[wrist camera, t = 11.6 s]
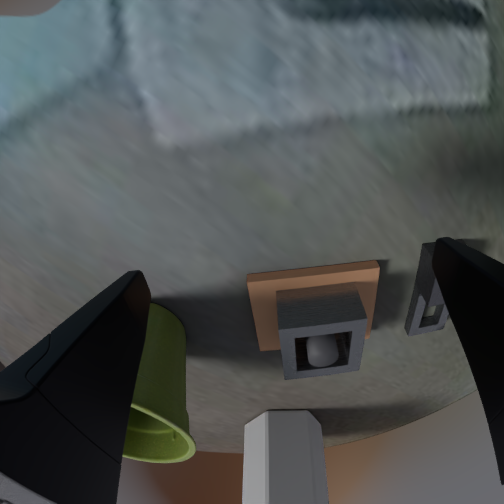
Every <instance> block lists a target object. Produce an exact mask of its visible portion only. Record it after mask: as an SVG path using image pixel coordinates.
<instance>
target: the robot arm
mask: <svg viewBox="0 0 504 504" xmlns="http://www.w3.org/2000/svg"><path fill="white" fill-rule="evenodd" d="M432 268H433V271H434V274H435V277H436V279H437V282H438V285H439V288H440V291H441V294H442V297H443V300H444V302H445V305H446V308H447V310H448V313H449V315H450V317H451V320H452V322H453V324H454V327H455V329H456V332H457V334H458V336H459V339H460V341H461V344H462V347H463V349H464V352H465V354H466V357H467V360H468V362H469V365H470V368H471V371H472V374H473V376H474V379H475V382H476V385H477V388H478V391H479V395H480V398H481V401H482V404H483V407H484V411H485V414H486V418H487V422H488V424H489V430H490V434H491V438H492V442H493V446H494V450H495V455H496V459H497V464H498V470H499V475H500V480H501V484H502V485H504V264H503V263H501V262H499V261H497V260H495V259H493V258H491V257H489V256H487V255H485V254H483V253H481V252H479V251H477V250H475V249H473V248H471V247H469V246H467V245H465V244H462V243H460V242H458V241H456V240H454V239H452V238H450V237H443V238H438V239H437V240H436V242H435V247H434V252H433V257H432ZM150 301H151V293H150V289H149V287H148V285H147V282H146V280H145V277H144V275H143V273H142V271H140V270H135V271H128V272H127V273H125V274H124V275H123V276H121V277H120V278H119V279H117V280H116V281H115V282H113V283H112V284H111V285H110V286H108V287H107V288H106V289H104V290H103V291H102V292H100V293H99V294H98V295H97V296H95V297H94V298H93V299H91V300H90V301H89V302H88V303H86V304H85V305H84V306H83V307H81V308H80V309H79V310H78V311H76V312H75V313H74V314H73V315H71V316H70V317H69V318H68V319H66V320H65V321H64V322H63V323H61V324H60V325H59V326H58V327H57V328H55V329H54V330H53V331H52V332H51V334H48V335H47V336H46V337H44V338H43V339H42V340H41V341H39V342H38V343H37V344H36V345H35V346H33V347H32V348H31V349H30V350H28V351H27V352H26V353H24V354H23V355H22V356H21V357H19V358H18V359H17V360H15V361H14V362H13V363H11V364H10V365H9V366H7V367H6V368H5V369H3V370H2V371H1V372H0V504H116V502H117V493H118V486H119V478H120V470H121V462H122V456H123V450H124V443H125V437H126V432H127V426H128V420H129V415H130V410H131V404H132V399H133V394H134V389H135V384H136V380H137V375H138V370H139V366H140V361H141V357H142V353H143V348H144V344H145V339H146V332H147V324H148V316H149V309H150Z"/></svg>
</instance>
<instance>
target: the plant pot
mask: <svg viewBox="0 0 504 504" xmlns="http://www.w3.org/2000/svg"><path fill="white" fill-rule="evenodd" d="M195 452H196V443H195V441H194V439H193V438H192V436H191V435H190V434H189V417H188V413H187V410H186V334H185V329H184V327H183V325H182V323H181V322H180V321H179V319H178V318H177V317H176V316H175V315H174V314H173V313H171V312H170V311H168V310H167V309H165V308H163V307H162V306H159V305H157V304H154V303H150V309H149V316H148V324H147V332H146V339H145V344H144V348H143V353H142V357H141V361H140V366H139V370H138V375H137V380H136V384H135V389H134V394H133V399H132V404H131V410H130V415H129V420H128V426H127V432H126V437H125V443H124V450H123V457H127V458H130V459H134V460H139V461H146V462H155V463H172V462H180V461H184V460H187V459H189V458H190V457H192V456H193V455H194V454H195Z"/></svg>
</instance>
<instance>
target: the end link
mask: <svg viewBox="0 0 504 504" xmlns="http://www.w3.org/2000/svg"><path fill="white" fill-rule="evenodd" d="M276 300H277V315H278V331H279V339H280V346H281V354H282V362H283V370H284V379H285V380H288V379H298V378H307V377H315V376H323V375H331V374H338V373H345V372H351V371H357V370H359V368H360V363H361V357H362V352H363V346H364V340H365V333H366V327H367V320H368V318H367V315H366V312H365V309H364V306H363V304H362V301H361V298H360V295H359V293H358V290H357V287H356V284H355V282H346V283H339V284H330V285H322V286H314V287H305V288H296V289H287V290H278V291H276ZM333 333H334V335H335V340H336V344H337V349H338V353H339V357H338V359H337V361H336V362H334V363H333V364H331V365H329V366H325V367H316V366H313V365H311V364H310V363H309V361H308V354H307V346H306V339H305V337H309V336H318V335H326V334H333Z"/></svg>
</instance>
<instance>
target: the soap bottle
mask: <svg viewBox="0 0 504 504" xmlns="http://www.w3.org/2000/svg"><path fill="white" fill-rule="evenodd" d="M242 498H243V499H242V504H329V500H328V487H327V477H326V467H325V457H324V447H323V438H322V429H321V424H320V423H319V422H318V421H317V420H316V419H315V417H314V416H313V415H312V414H311V413H310V412H309V411H307V410H267V411H266V412H264V413H263V414H261V415H260V416H258V417H257V418H255V419H253V420H252V421H250V422H249V423H247V424H246V425H245V437H244V466H243V497H242Z"/></svg>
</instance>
